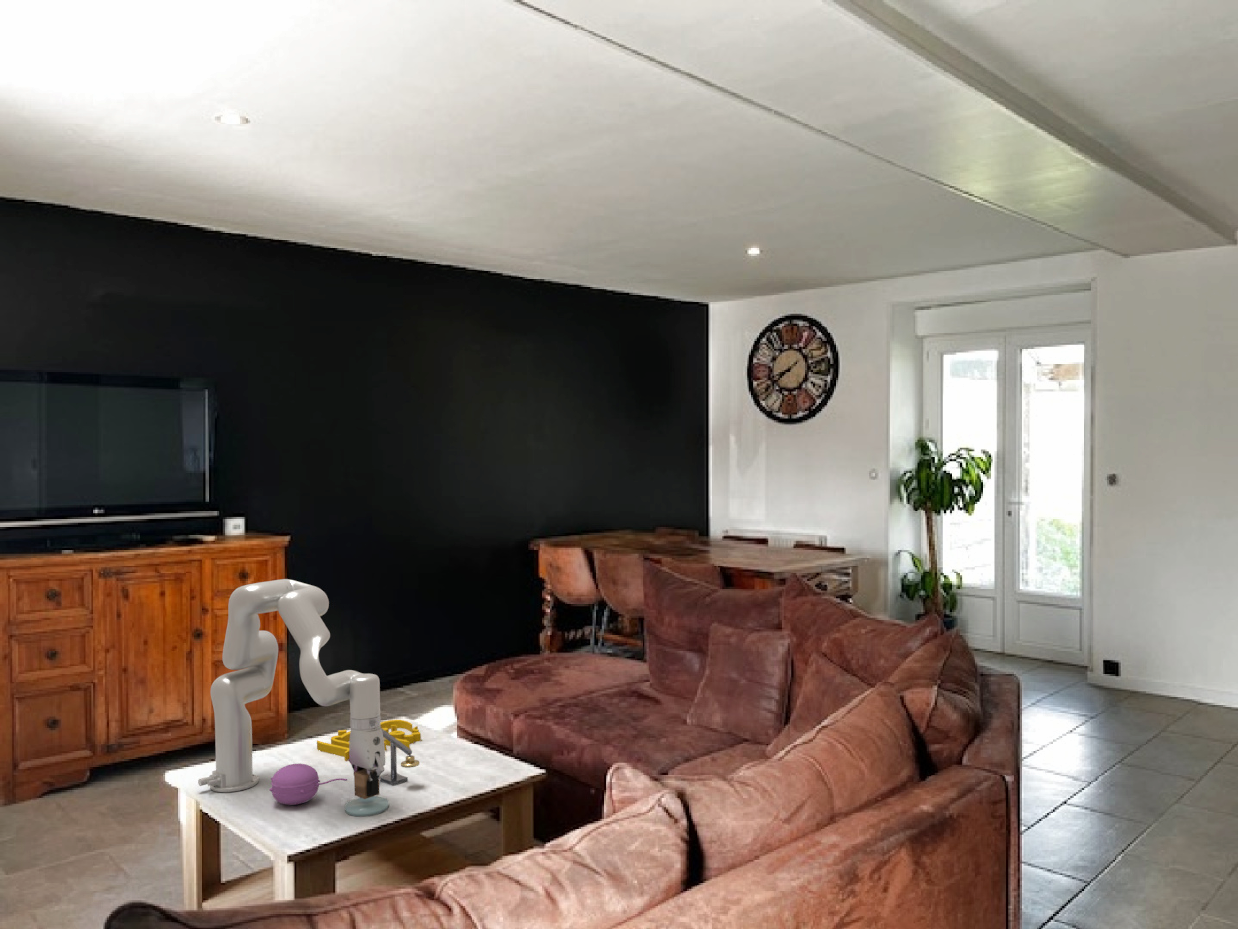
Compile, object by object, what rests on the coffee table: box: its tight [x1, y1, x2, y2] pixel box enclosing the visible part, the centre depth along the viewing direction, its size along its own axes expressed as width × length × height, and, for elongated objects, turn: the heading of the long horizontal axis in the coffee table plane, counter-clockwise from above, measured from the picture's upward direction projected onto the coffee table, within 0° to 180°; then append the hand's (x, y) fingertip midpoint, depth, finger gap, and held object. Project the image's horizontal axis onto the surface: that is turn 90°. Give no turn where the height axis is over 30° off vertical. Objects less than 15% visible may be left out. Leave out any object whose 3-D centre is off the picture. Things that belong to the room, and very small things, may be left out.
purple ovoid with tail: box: [269, 763, 348, 806], centre depth 247 cm, size 12×19×10 cm, turn 77°
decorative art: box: [316, 719, 422, 762], centre depth 300 cm, size 34×3×30 cm
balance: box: [379, 727, 420, 787], centre depth 263 cm, size 5×20×14 cm, turn 49°
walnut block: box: [353, 769, 380, 799], centre depth 243 cm, size 4×4×6 cm
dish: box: [344, 795, 390, 817], centre depth 243 cm, size 11×11×1 cm
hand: (366, 792), depth 243 cm, fingers closed on walnut block, 4 cm apart
